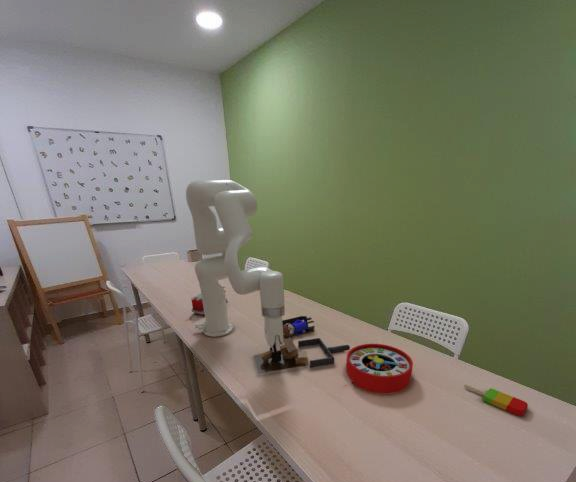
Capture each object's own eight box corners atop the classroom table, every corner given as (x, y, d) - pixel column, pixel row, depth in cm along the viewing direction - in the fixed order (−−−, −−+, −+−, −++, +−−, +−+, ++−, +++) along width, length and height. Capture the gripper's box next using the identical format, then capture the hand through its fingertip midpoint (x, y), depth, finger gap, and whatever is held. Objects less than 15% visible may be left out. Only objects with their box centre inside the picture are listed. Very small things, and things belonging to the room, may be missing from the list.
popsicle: (521, 418, 77) (523, 412, 76) (460, 391, 88) (461, 386, 87) (527, 408, 80) (529, 402, 80) (467, 383, 91) (468, 378, 90)
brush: (266, 369, 99) (262, 362, 98) (262, 356, 107) (258, 349, 106) (299, 356, 100) (296, 348, 99) (292, 343, 108) (290, 336, 107)
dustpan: (310, 370, 100) (310, 361, 99) (298, 348, 114) (298, 340, 112) (358, 362, 104) (359, 353, 102) (341, 342, 117) (341, 334, 116)
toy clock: (352, 340, 106) (412, 348, 100) (351, 354, 109) (410, 363, 102) (341, 370, 89) (413, 382, 83) (340, 386, 91) (410, 399, 85)
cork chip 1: (284, 359, 105) (284, 353, 104) (282, 353, 109) (282, 347, 108) (295, 358, 106) (295, 351, 105) (293, 352, 109) (292, 346, 108)
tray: (259, 375, 98) (259, 373, 98) (254, 357, 109) (254, 355, 108) (306, 368, 101) (306, 365, 101) (296, 351, 112) (296, 348, 112)
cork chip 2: (295, 363, 102) (295, 357, 101) (295, 357, 106) (295, 351, 105) (307, 363, 102) (307, 357, 101) (306, 357, 106) (306, 351, 105)
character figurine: (317, 334, 125) (284, 342, 119) (308, 326, 131) (277, 334, 125) (318, 317, 121) (284, 325, 115) (309, 310, 127) (277, 317, 121)
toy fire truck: (230, 305, 158) (227, 287, 154) (203, 318, 143) (200, 298, 139) (217, 302, 162) (215, 284, 158) (190, 314, 148) (187, 295, 144)
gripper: (258, 303, 103) (261, 349, 110) (265, 321, 89) (269, 373, 96) (279, 300, 104) (281, 347, 112) (290, 317, 90) (291, 369, 98)
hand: (275, 358), depth 104 cm, fingers closed on brush, 2 cm apart
